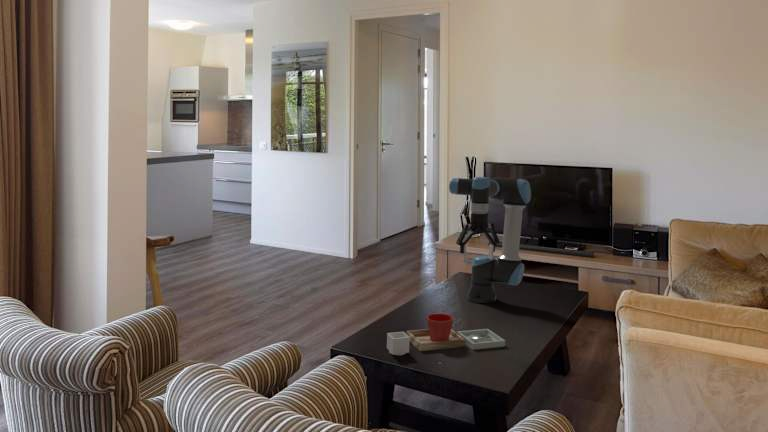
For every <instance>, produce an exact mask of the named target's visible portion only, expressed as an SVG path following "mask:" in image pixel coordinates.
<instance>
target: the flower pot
mask: <svg viewBox="0 0 768 432" xmlns="http://www.w3.org/2000/svg"><path fill="white" fill-rule="evenodd" d="M453 321H454V317H453V316H452V315H449V314H446V313H432V314H429V315H427V317H426V322H427V329H429V335H430V339H431V340H432V341H434V342H437V341H448V340H449V336H450V332H451V329H452V326H453V323H454V322H453Z"/></svg>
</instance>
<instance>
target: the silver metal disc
mask: <svg viewBox="0 0 768 432" xmlns="http://www.w3.org/2000/svg"><path fill="white" fill-rule="evenodd" d="M470 339H471V340H472V341H474V342H487V341H491V337H490V336H489V335H486V334H481V333H476V334H472V335H470Z"/></svg>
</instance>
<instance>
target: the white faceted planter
mask: <svg viewBox="0 0 768 432" xmlns="http://www.w3.org/2000/svg"><path fill="white" fill-rule="evenodd" d="M386 349H387V350H388V353H389V354H390V355H393V356H403V355H406V354H407V353H408V354H409V353H410V337H408V336H407V335H406V332H405V331H396V332H387V333H386Z"/></svg>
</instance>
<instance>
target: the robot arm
mask: <svg viewBox="0 0 768 432" xmlns="http://www.w3.org/2000/svg"><path fill="white" fill-rule="evenodd" d="M448 189H449V192H450V194H451V195H456V196H457V195H458V196H459V195H461V196H471V206H470V211H471V213H470V223H463V228H462V230H461V232H460V234H459V236H458V238H457V240H456V242H455V244H456V245H458V246H459V253H460V254H461V257H460V258H461V261H462V262H466V261H467V260H466V259H467V258H466V255H467V246H466V245H467V243H468V242H469V240H471V239H472V237H473V236H474V235H475V234H476V235H477V234H481V235H482V234H484V236H485V238H487V240H488V242H490V244H489V245H488V255H477V256H475V257H474V258H473V259H472V263H471V282H470V283H471V284H470V286H469V289H468V292H467V295H466V299H467V300H468V301H470V302H473V303H478V304H492V303H495V302H496V301H497V293H496V291H495V286H494V283H497V284H504V285H508V286H510V285H511V286H518V285H519V284H520V283H521V282H522V279H523V277H524V273H525V269H526V268H525V264H524V263H523V262H522V258H521V257H520V243H521V233H522V221H523V210H524V209H525V208H526V207H527V204H528V203H530V201H531V198H532V189H531V184H530V182H529V181H528V180H527V179H522V178H509V177H491V178H490V177H485V176H477V177H473V178H463V177H462V178H460V177H452V178H451V179H450V181H449V184H448ZM490 199H491V200H496V201H502V205H503V206H504V207H505V212H504V221H503V222H504V224H503V233H502V235H503V237H502V245H501V246H502V247H501V254H500V255H499V256H498V258H497V259H496V256H495V255H494V253H495V252H496V246H497V244H500V239H499V237H498V233H497V232H496V229H495V224H494V223H493V222H488V221H489V213H488V212H489V203H490ZM487 229H489V230H490V233H489V231H488V230H487ZM491 235H492V236H491Z"/></svg>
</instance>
